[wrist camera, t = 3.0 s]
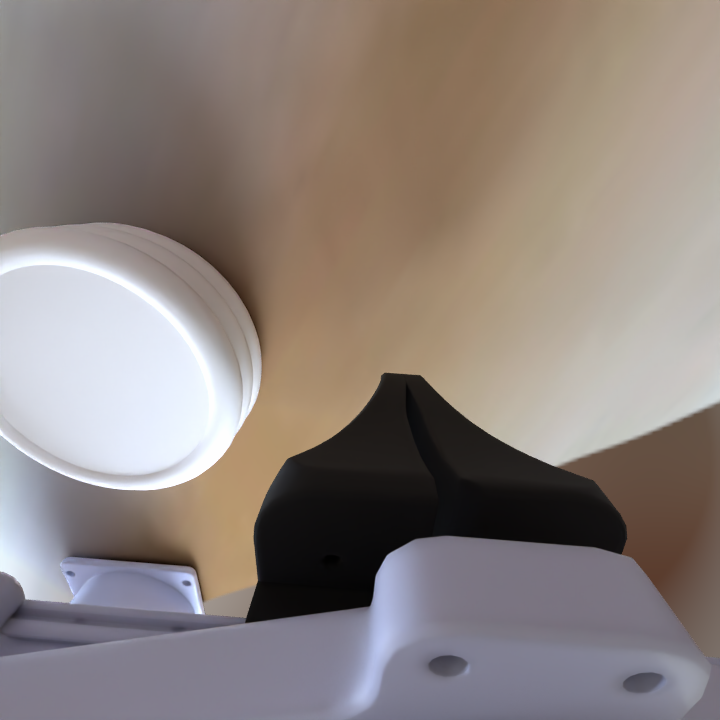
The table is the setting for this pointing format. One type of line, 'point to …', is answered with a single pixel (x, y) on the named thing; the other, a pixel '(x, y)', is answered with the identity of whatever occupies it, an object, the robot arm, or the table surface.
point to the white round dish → (121, 355)
